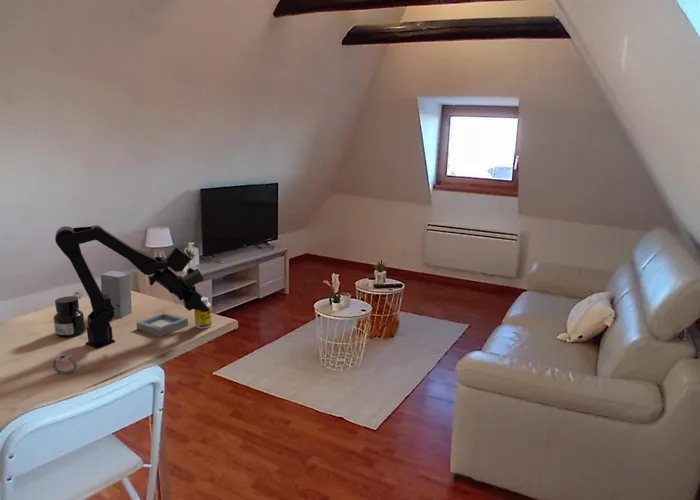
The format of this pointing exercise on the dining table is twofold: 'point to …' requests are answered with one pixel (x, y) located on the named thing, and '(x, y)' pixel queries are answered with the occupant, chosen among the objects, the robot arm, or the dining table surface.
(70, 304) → the ink bottle
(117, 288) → the skincare box
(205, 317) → the supplement bottle
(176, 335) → the dining table surface
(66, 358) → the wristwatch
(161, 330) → the tray
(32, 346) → the dining table surface
